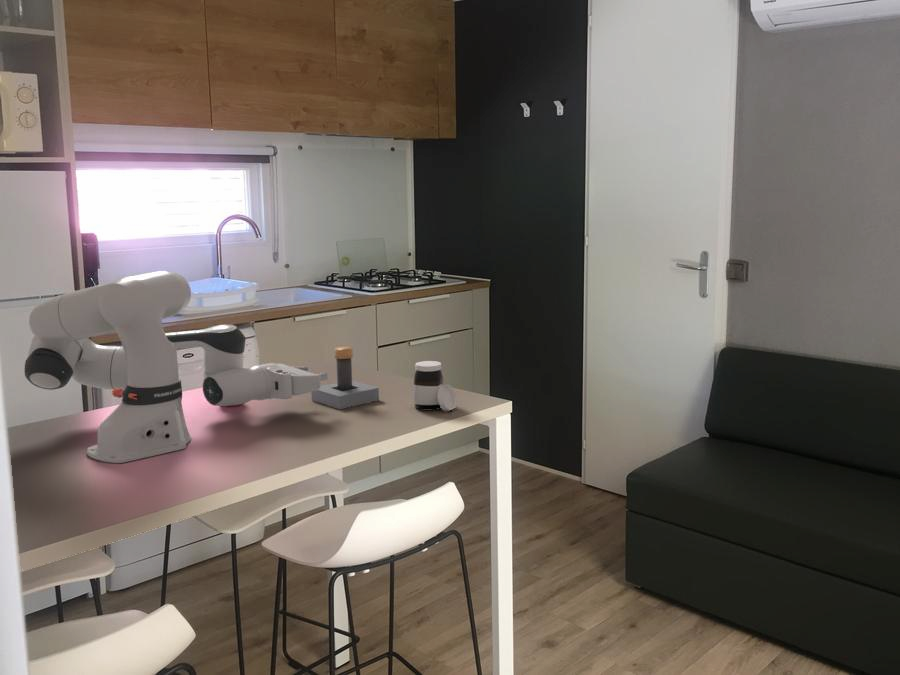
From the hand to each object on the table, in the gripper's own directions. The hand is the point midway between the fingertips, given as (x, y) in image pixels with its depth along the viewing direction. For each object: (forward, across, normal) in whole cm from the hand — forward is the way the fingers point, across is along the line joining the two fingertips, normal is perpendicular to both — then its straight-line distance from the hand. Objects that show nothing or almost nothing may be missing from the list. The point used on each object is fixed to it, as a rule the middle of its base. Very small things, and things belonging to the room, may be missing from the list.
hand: (316, 372), depth 222 cm
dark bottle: (+9, -1, -9) cm, 13 cm away
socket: (+9, -1, -9) cm, 13 cm away
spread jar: (+22, +22, -9) cm, 33 cm away
